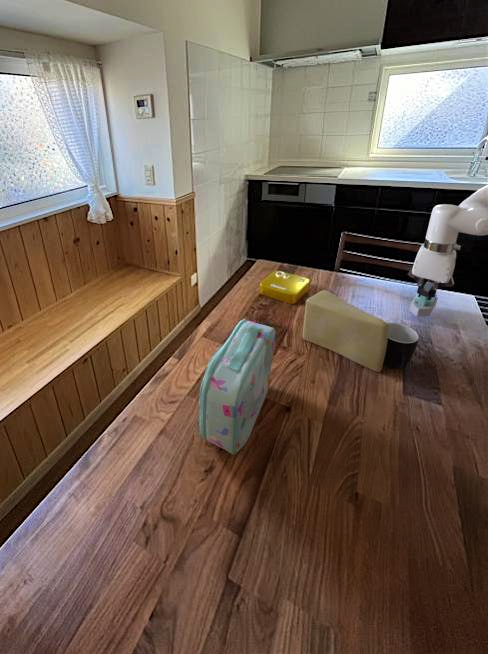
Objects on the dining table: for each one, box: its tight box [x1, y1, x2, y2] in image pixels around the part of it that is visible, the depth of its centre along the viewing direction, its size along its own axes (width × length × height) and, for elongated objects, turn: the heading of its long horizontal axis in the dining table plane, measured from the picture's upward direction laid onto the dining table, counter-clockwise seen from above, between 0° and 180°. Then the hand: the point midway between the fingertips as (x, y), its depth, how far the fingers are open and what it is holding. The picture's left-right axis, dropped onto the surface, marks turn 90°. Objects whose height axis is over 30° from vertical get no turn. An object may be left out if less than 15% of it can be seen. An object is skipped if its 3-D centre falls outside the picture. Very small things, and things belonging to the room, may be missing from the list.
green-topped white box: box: [409, 281, 439, 318], centre depth 110 cm, size 11×6×8 cm, turn 134°
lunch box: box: [198, 318, 276, 455], centre depth 78 cm, size 27×10×21 cm, turn 152°
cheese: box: [302, 289, 389, 373], centre depth 96 cm, size 22×10×15 cm, turn 35°
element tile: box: [259, 270, 310, 305], centre depth 130 cm, size 15×15×5 cm
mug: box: [383, 322, 420, 371], centre depth 90 cm, size 12×9×10 cm
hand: (425, 296), depth 110 cm, fingers closed on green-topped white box, 2 cm apart
